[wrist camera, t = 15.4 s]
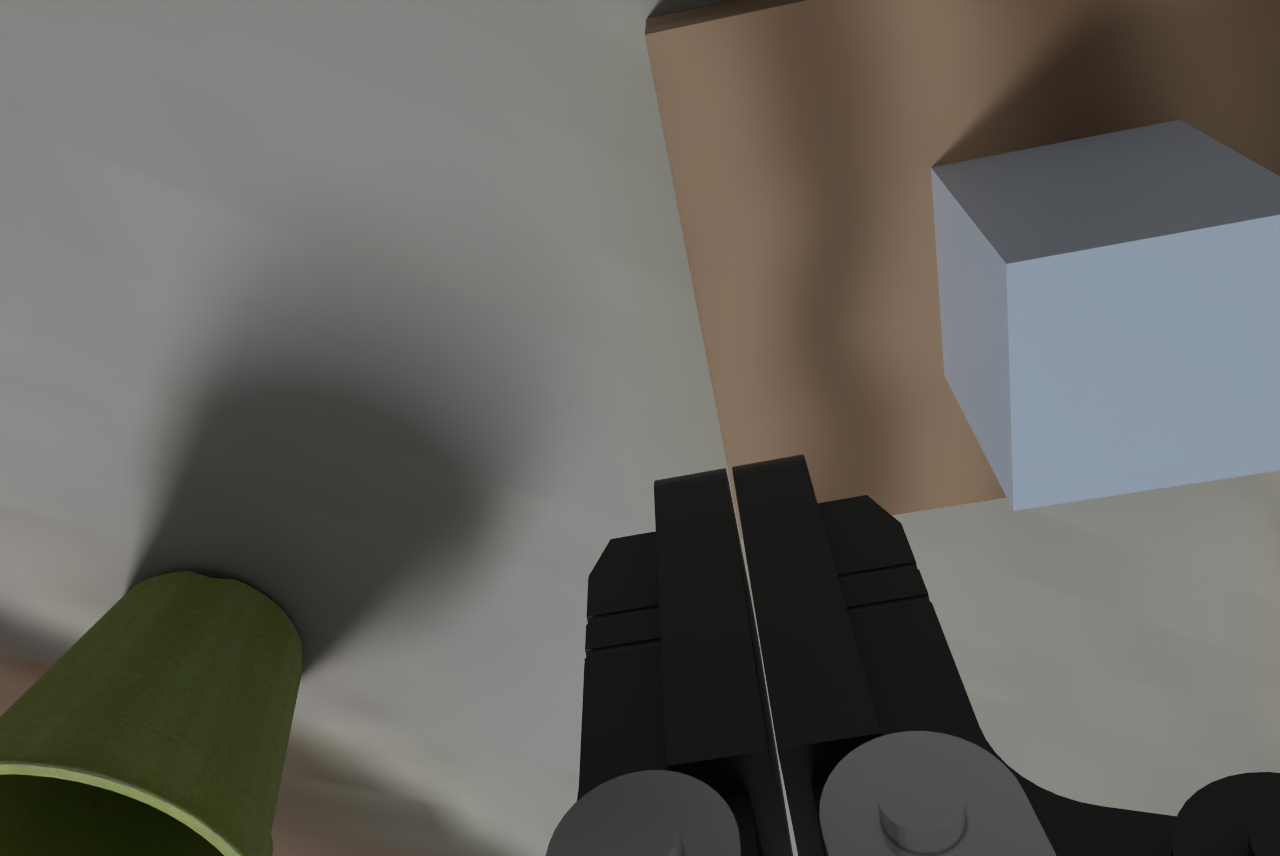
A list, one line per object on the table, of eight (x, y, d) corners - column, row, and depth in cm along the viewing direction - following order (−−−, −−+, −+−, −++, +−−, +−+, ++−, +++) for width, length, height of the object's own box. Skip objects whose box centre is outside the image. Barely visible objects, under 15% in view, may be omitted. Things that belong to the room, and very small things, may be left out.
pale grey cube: (944, 376, 31) (1013, 510, 25) (931, 167, 27) (1006, 264, 21) (1167, 338, 30) (1295, 468, 24) (1179, 119, 27) (1330, 205, 21)
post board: (736, 495, 36) (753, 642, 29) (646, 18, 28) (641, 76, 22) (1342, 399, 34) (1503, 536, 27) (1428, -150, 26) (1686, -142, 19)
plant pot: (15, 667, 41) (-187, 929, 31) (122, 461, 36) (-79, 699, 26) (288, 787, 44) (181, 1059, 34) (421, 615, 39) (340, 876, 29)
